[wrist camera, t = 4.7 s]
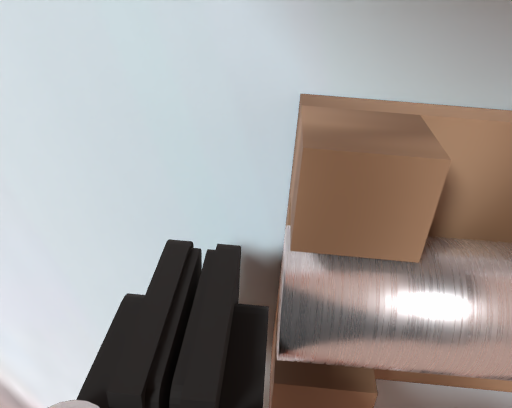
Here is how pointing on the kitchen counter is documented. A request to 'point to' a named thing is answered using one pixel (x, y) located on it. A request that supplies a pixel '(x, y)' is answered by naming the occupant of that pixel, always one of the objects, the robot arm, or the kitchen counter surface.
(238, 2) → the kitchen counter surface
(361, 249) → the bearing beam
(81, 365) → the kitchen counter surface
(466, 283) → the steel axle
